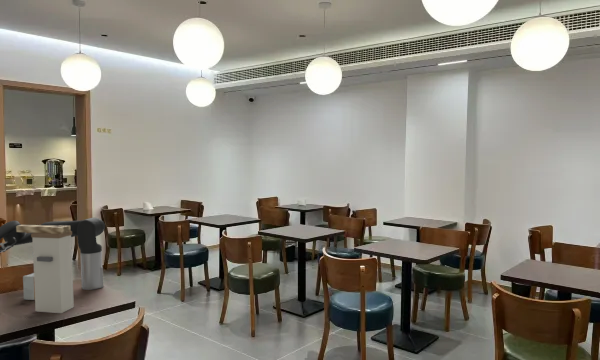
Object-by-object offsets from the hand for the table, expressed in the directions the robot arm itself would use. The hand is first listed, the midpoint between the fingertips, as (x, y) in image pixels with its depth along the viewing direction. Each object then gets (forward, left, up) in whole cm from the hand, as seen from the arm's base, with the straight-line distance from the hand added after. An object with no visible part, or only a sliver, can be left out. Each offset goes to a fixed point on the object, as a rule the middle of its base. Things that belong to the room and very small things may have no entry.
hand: (6, 241), depth 180 cm
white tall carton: (-17, +14, -27) cm, 35 cm away
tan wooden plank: (-13, +11, +5) cm, 18 cm away
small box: (-9, -8, -28) cm, 30 cm away
